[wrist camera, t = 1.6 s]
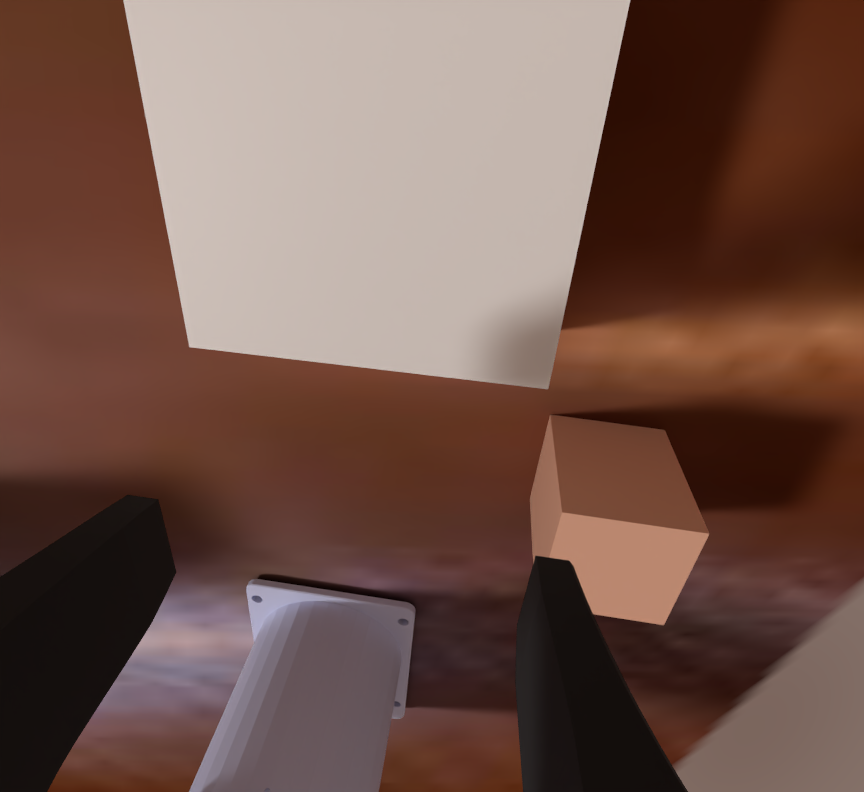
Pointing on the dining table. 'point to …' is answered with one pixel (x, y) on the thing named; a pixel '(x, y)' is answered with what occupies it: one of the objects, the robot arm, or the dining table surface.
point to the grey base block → (377, 173)
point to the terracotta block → (616, 515)
